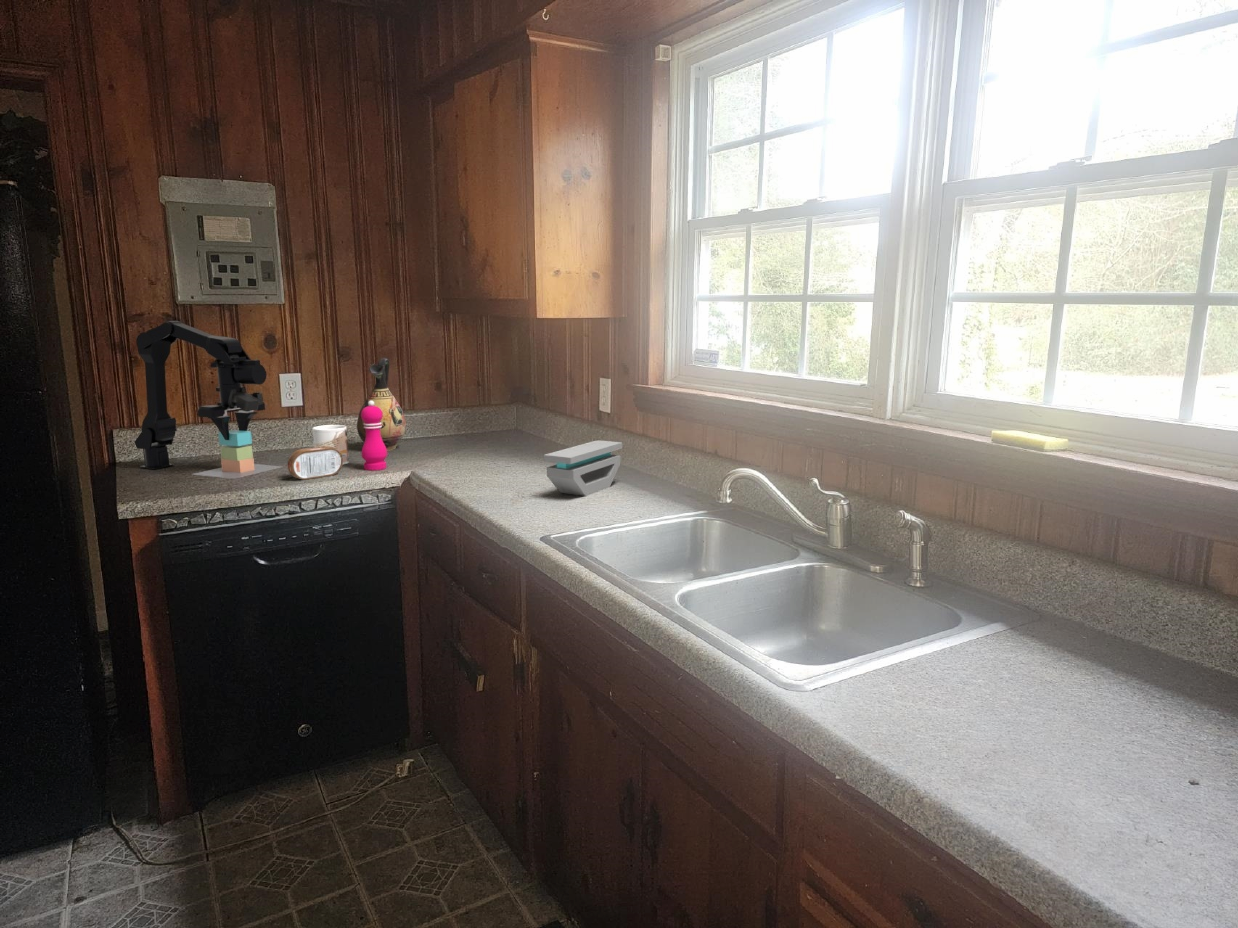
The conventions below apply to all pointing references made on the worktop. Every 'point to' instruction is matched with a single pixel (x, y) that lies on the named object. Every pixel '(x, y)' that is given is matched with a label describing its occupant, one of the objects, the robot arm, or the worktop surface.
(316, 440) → the mug
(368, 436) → the pepper mill
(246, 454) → the olive brick
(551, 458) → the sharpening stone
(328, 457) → the tin
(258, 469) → the baseplate
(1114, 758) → the worktop surface
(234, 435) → the teal brick
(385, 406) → the ceramic jug
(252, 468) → the terracotta brick
